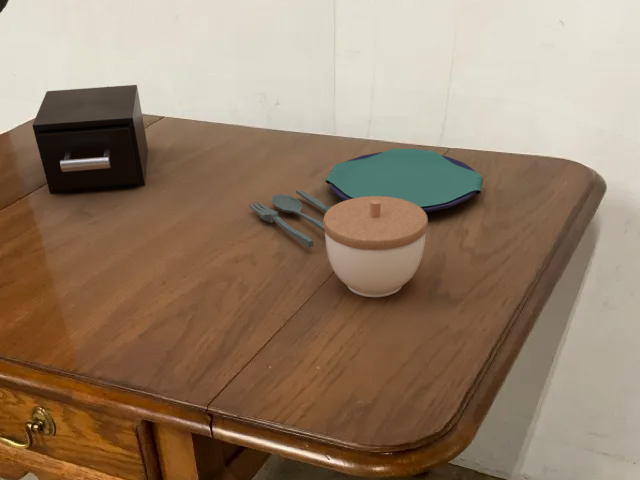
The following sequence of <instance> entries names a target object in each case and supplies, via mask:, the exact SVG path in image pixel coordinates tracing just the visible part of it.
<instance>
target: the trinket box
mask: <svg viewBox="0 0 640 480" xmlns="http://www.w3.org/2000/svg"><path fill="white" fill-rule="evenodd" d="M323 224H324V230H325V232H324V240H325V242H324V243H325V250H326V255H327V258H328V261H329V265H330V267H331V269H332V271H333V273H334V274H335V276H336V277H337V278H338V279H339V280H340V281H341V282H342V283H343V284H345V285H346V286H347V287H346V288H348V289H349V290H350V292H352V293H353V294H355V295H358V296H361V297H366V298H382V297H387V296H391V295H394V294H396V293H398V292H399V291H400V290H401V289H402V287H403V286H404V285H405V284H407V283H408V282H409V281H410V280H411V279H412V278H413V276H414V275H415V274H416V272H417V271H418V268H419V267H420V265H421V262H422V259H423V255H424V251H425V245H426V237H427V236H426V235H427V229H428V225H429V219H428V215H427V212H424V211H423V209H422V208H420V207H419V206H417V205H416V204H414V203H412V202H409V201H406V200H403V199H399V198H393V197H385V196H368V197H359V198H353V199H349V200H346V201H345V200H343V201H340V202H338V203H335V204H334V205H333V206H331V208H330V209H329V210H328V211H327V212H326V214H325V216H324V215H323Z"/></svg>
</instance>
